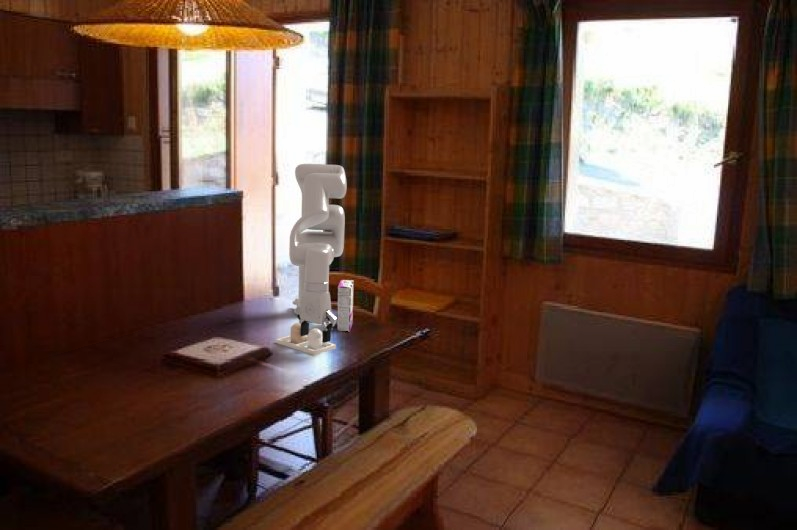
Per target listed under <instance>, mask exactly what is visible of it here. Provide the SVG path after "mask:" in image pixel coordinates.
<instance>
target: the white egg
mask: <svg viewBox="0 0 797 530" xmlns="http://www.w3.org/2000/svg"><path fill="white" fill-rule="evenodd" d="M322 333H323V331H322V330H320V329H319V328H317V327H315V328H312V329H309V333H308V335H307V336H308V346H307V348H309V349H313V350H317V349H321V348H323V345H322Z"/></svg>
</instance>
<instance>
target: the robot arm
mask: <svg viewBox="0 0 797 530" xmlns="http://www.w3.org/2000/svg"><path fill="white" fill-rule="evenodd" d="M345 171H346V170H345V169H344V166H342V165H338V164H324V163H323V164H322V163H321V164H320V163H301V164H298V165H297V166H296V167H295V169H294V175H295V180H296V182H297V185H298V187H299V188H300V192H301V217H300V218H299V219H298V220H297V221H296V222H295V224H294V225H293V226H292V228H291V231H290V235H289V248H288V249H289V260H290V263H291V265H293V266H296V267H298V298H295V299H294V300H293V301H292V305H294V306H296V307H295V308H294V310H293V311H294V315H296V317H297V319H298V323H300V324H301V336H308V333H309V331H310V323H312V324H316V325H321V327H322V328H323V330H322V342H323V343H326V342H328V343H330V342H331V339H332V338H331V336H332V330H334V329H333V328H334V327H335V326H336V324H337V316H335V315H334V313H332V304H331V302H332V301H331V294H330V291H329V285H330V284H329V283H330V280H329V277H330V266H331V264H332V262H333V261H334V258H337V257H341V256H342V254H343V252H344V248H345V246H344V245H345V225H346V224H345V221H346V220H345V219H346V217H345V216H346V215H345V211H344V208H343V207H342V206H341V205H338V204H330V202H329V201H330V200H329V199H344V198H345V196H346V194H347V185H348V184H347V178H346V177H347V176H346V172H345ZM306 230H308V231H306ZM309 230H310V231H309Z"/></svg>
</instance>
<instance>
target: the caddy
mask: <svg viewBox="0 0 797 530" xmlns="http://www.w3.org/2000/svg"><path fill="white" fill-rule="evenodd" d="M290 339H291V334H290V335H287V336H283V337H280V338H276V342H275V343H276V344H278V345H282V346H285V347H289V348H291V349H295V350H298V351H300V352H304V353H307V354H310V355H314V356H317V355H320V354H322V353H325V352H329V351H333V350H336V349H337V345H336V344H335V343H332V342H326V343H323V342H322V348H321V349H317V350H313V349H309V348H308V335H305V342H303V343H299V344H293V343H290Z"/></svg>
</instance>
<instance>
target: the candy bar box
mask: <svg viewBox="0 0 797 530" xmlns="http://www.w3.org/2000/svg"><path fill="white" fill-rule="evenodd" d="M353 311H354V280H352V279H351V280H350V279H341V280H340V282H339V283H338V286H337V311H336V312H337V313H336V314H337V316H336V318H337V321H336V331H339V332H342V331H348V332H347V333H350V332H351V329H352V326H353V323H354V321H353V320H354V319H353V318H354V317H353V315H354V312H353Z"/></svg>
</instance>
